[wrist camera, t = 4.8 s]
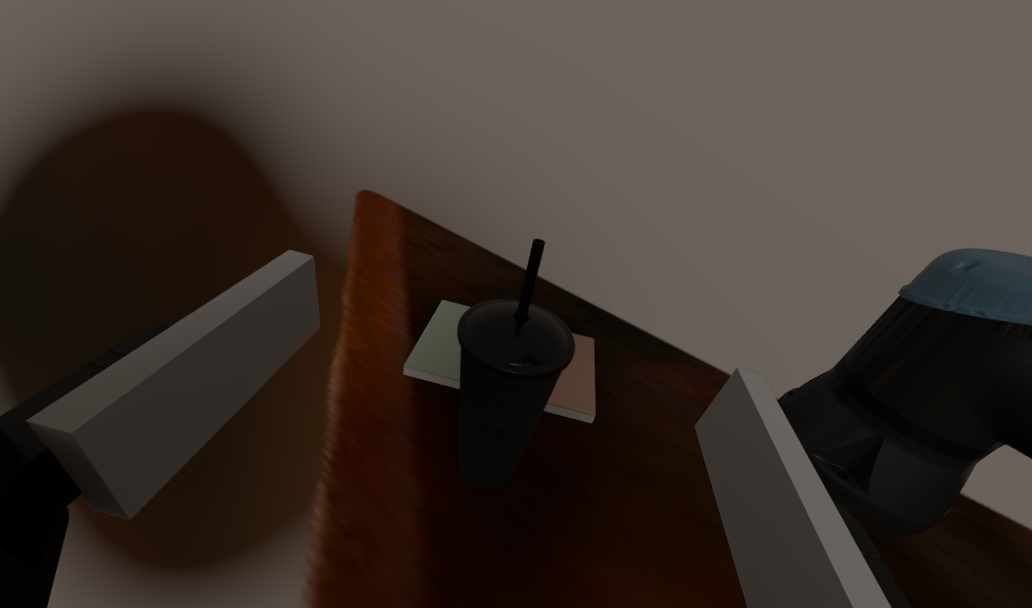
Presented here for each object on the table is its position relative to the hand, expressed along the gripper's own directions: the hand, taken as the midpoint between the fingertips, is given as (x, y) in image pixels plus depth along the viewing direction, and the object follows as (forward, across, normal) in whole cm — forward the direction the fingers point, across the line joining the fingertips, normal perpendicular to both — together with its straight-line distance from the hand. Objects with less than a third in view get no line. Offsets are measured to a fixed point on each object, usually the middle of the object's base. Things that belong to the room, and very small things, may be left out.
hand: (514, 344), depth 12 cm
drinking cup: (+10, 0, -21) cm, 23 cm away
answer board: (+23, 0, -21) cm, 31 cm away
